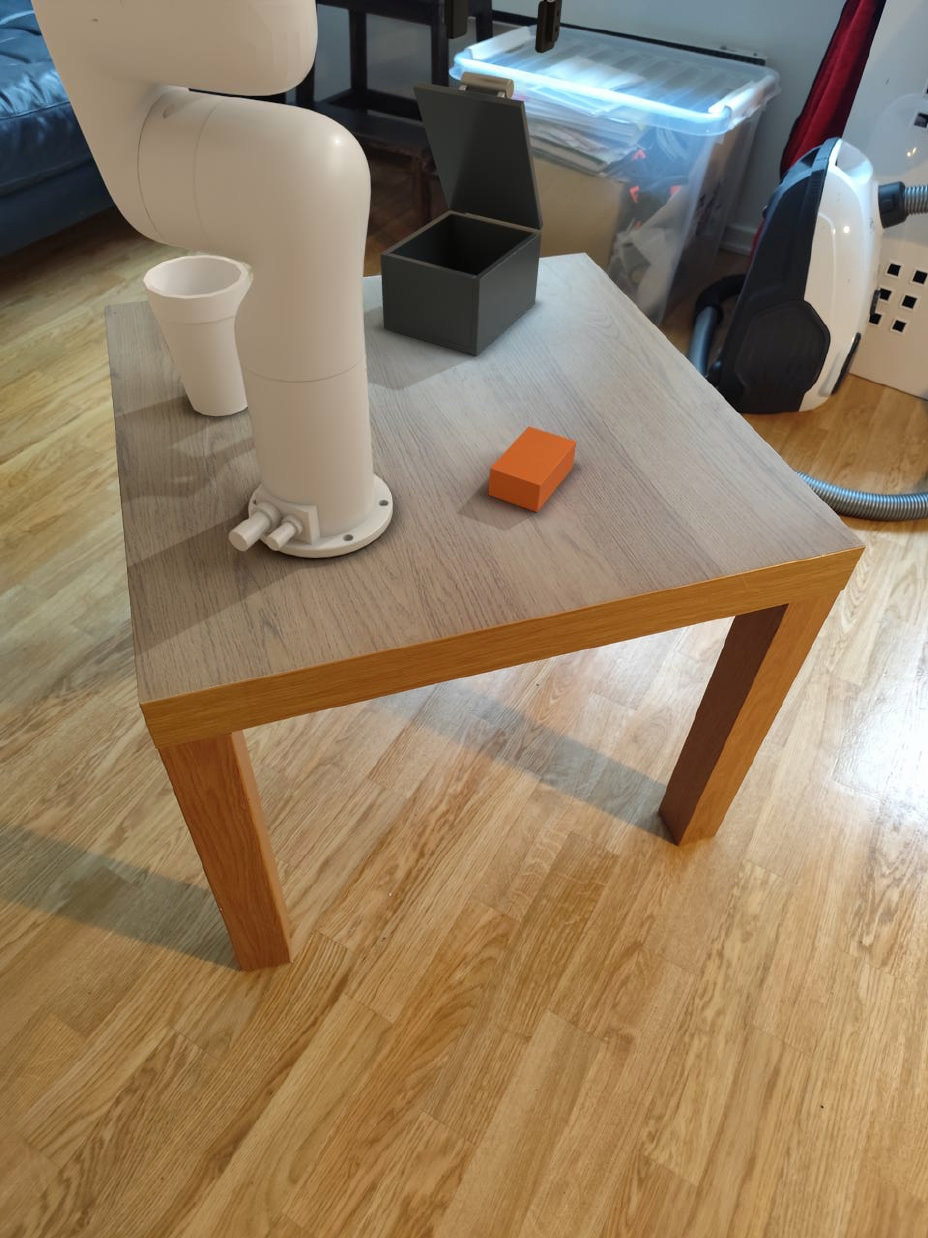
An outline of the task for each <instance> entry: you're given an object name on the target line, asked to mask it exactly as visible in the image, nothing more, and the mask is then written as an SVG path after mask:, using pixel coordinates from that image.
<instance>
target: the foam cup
mask: <svg viewBox="0 0 928 1238" xmlns="http://www.w3.org/2000/svg"><path fill="white" fill-rule="evenodd" d="M250 281H251V280H250V275H249V271H248V270H247V268H246V267H245V266H244V264H243V262H240V261H236V260H232V259H229V258H226V257H224V256H219V255H211V254H201V255H186V256H180V257H176V258H173V259H169V260H166V261H162V262H160V263H159V264H157V265H155V266H154V267H152V268H150V269H148V271H147V272H146V274H145V276H144V278H143V279H142V282H143V286H144V290H145V293H146V298H147V301H148V305H149V307H150V309H151V310H152V312H153V314H154V315H155V317H156V320H157V323H158V325H159V327H160V330H161V332H162V334H163V337H164V340H165V342H166V345H167V347H168V350H169V353H170V355H171V357H172V361H173V362H174V365H175V367H176V371H177V373H178V375H179V377H180V381H181V382H182V383H181V384H182V385H183V388H184V390H185V393H186V396H187V398H188V400H189V402H190V404H191V406H192V408H193V410H194V411H196V412H197V413H200V414H202V415H204V416H212V417H224V416H232V415H233V414H236V413H240V412H241V411H244V410H245V409H247V408H248V405H247V400H246V394H245V389H244V384H243V378H242V373H241V367H240V362H239V359H238V354H237V349H236V343H235V335H234V322H235V315H236V312H237V309H238V306H239V304H240V302H241V301H242V299H243V297H244V296H245V294H246V292H247V291H248V289H249V287H250V286H251V282H250Z"/></svg>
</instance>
